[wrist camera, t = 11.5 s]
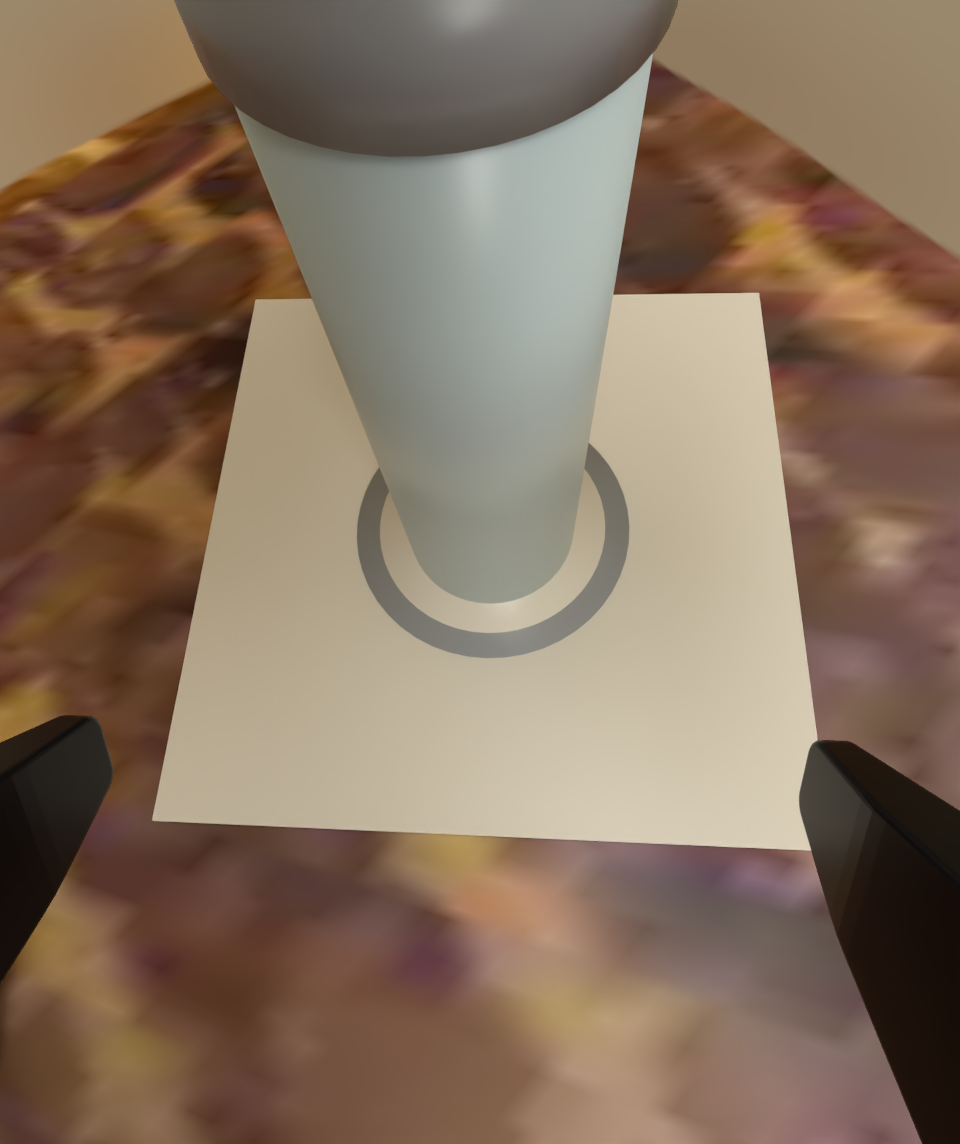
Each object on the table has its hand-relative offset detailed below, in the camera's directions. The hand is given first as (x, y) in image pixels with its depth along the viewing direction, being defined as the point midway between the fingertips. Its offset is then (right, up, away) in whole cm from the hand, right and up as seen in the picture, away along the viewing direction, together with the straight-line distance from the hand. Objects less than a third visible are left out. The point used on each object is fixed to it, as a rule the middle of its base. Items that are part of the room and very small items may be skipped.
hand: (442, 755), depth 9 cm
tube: (+1, +4, +10) cm, 11 cm away
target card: (+1, +3, +11) cm, 11 cm away
